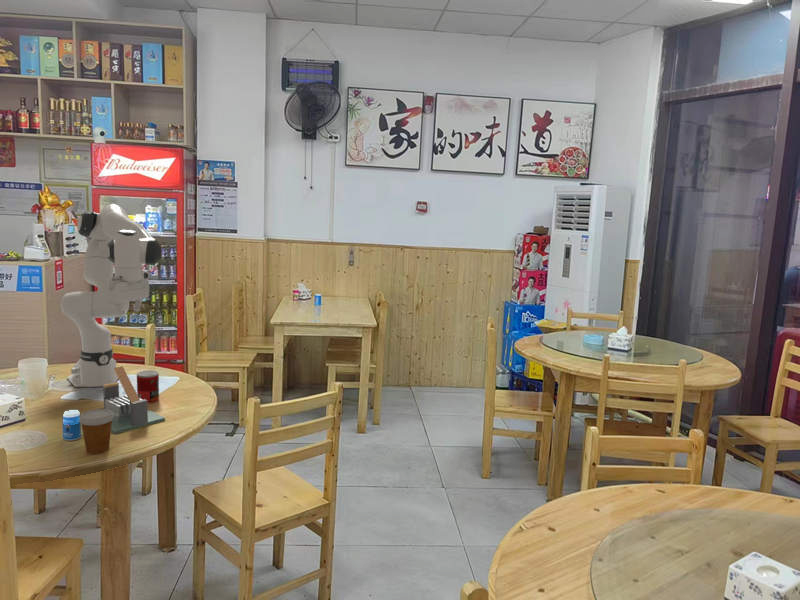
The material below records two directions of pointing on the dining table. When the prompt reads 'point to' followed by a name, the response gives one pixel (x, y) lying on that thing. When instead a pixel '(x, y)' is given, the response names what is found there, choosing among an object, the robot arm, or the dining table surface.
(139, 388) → the canned food
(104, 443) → the disposable coffee cup
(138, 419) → the board
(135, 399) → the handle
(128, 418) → the heatsink
